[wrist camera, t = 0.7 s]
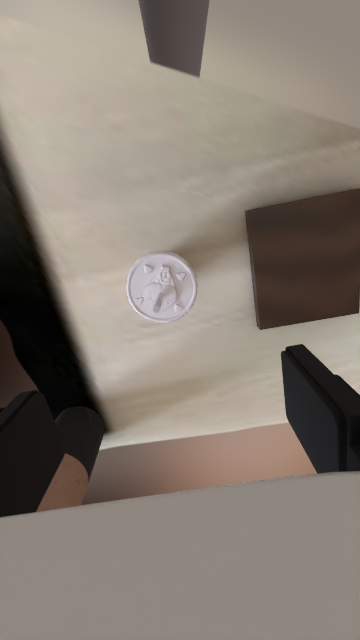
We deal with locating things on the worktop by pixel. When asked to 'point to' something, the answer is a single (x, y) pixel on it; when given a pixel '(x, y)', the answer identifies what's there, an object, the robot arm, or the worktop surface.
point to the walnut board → (305, 259)
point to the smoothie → (161, 286)
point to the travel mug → (74, 457)
